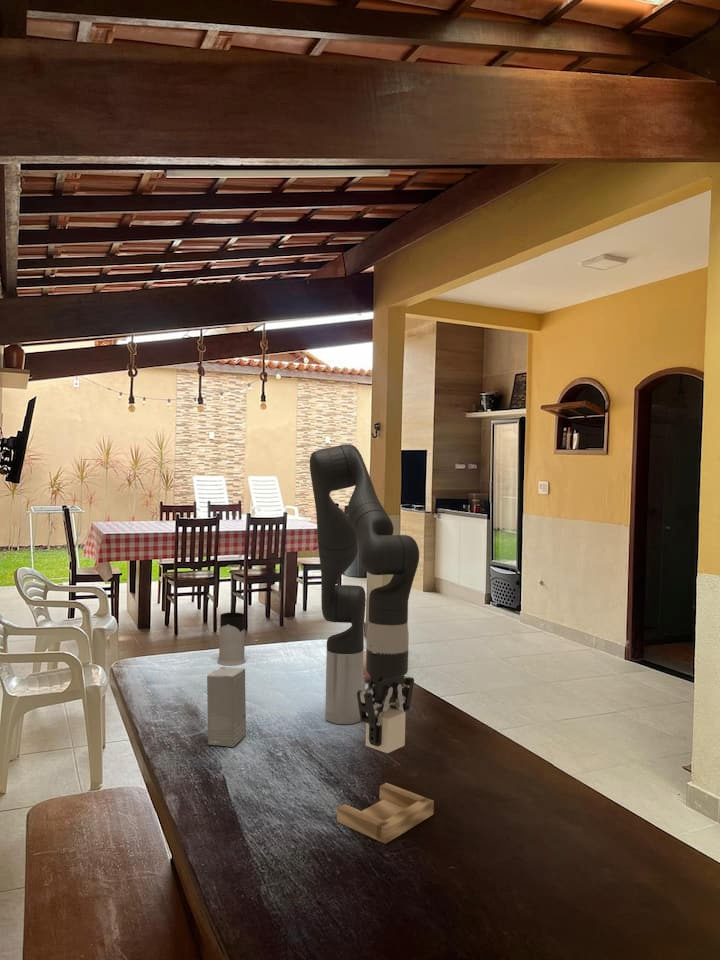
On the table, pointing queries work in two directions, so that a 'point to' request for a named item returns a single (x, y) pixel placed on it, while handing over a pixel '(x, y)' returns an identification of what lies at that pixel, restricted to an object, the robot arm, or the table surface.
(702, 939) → the table surface
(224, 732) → the skincare box
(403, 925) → the table surface
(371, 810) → the rest cradle
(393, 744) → the block
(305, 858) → the table surface
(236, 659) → the glass holder
